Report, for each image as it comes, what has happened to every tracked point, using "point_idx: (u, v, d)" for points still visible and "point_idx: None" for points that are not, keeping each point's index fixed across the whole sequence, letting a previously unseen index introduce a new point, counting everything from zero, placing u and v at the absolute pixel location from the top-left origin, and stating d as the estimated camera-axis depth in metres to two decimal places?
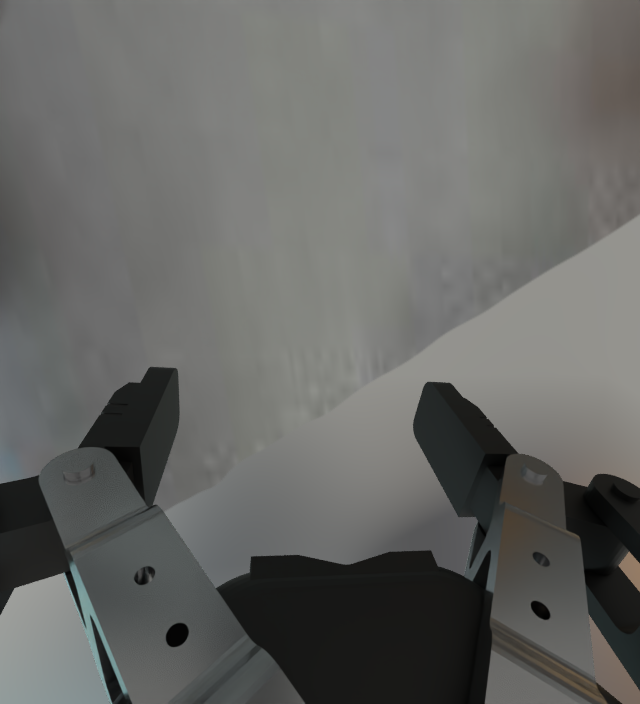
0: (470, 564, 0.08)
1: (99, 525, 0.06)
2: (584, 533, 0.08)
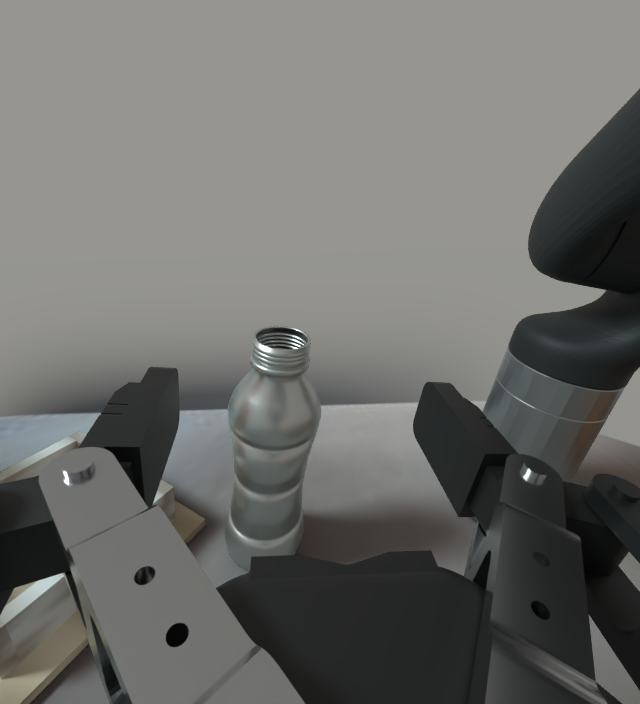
0: (470, 564, 0.08)
1: (99, 525, 0.06)
2: (584, 533, 0.08)
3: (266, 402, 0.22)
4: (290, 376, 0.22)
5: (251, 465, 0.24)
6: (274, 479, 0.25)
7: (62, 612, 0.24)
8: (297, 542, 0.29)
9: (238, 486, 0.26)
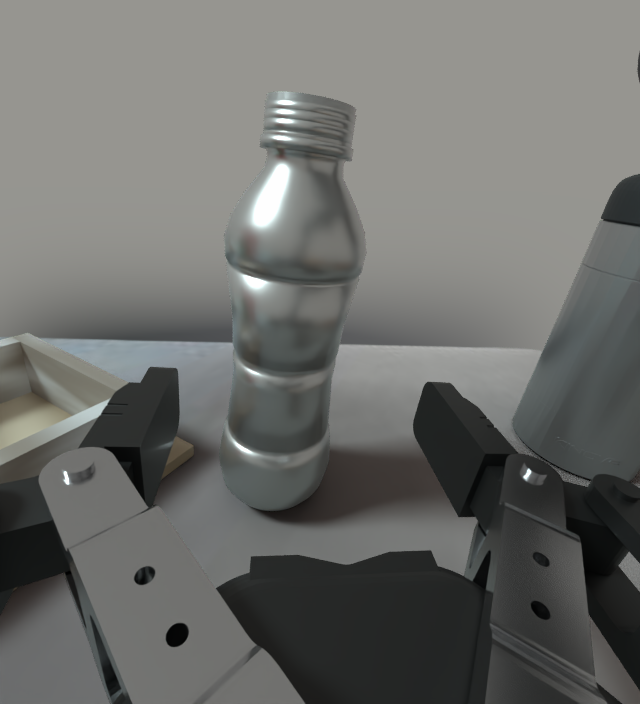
0: (470, 564, 0.08)
1: (99, 525, 0.06)
2: (584, 533, 0.08)
3: (286, 196, 0.14)
4: (326, 152, 0.14)
5: (260, 318, 0.15)
6: (295, 345, 0.16)
7: None
8: (323, 466, 0.21)
9: (239, 368, 0.18)
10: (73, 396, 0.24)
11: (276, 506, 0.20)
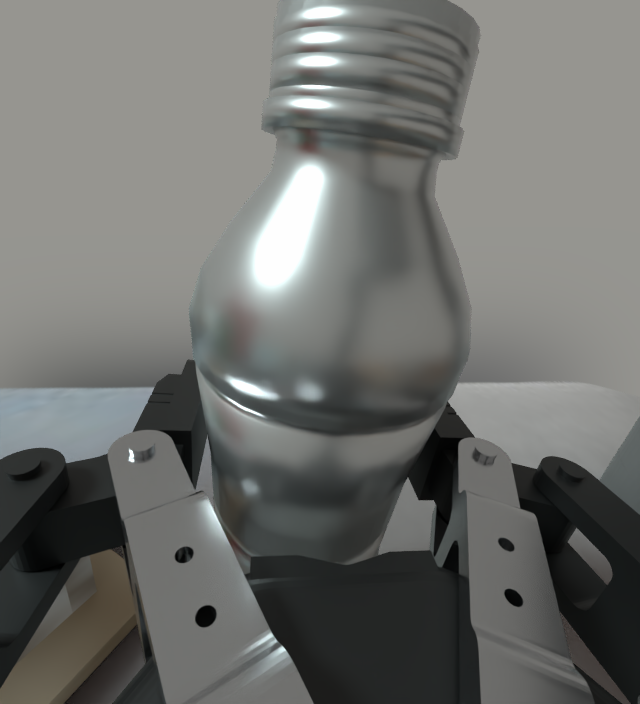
0: (434, 552, 0.08)
1: (152, 502, 0.06)
2: (531, 512, 0.08)
3: (323, 242, 0.06)
4: (421, 138, 0.06)
5: (262, 483, 0.07)
6: (331, 528, 0.08)
7: None
8: None
9: None
10: None
11: None
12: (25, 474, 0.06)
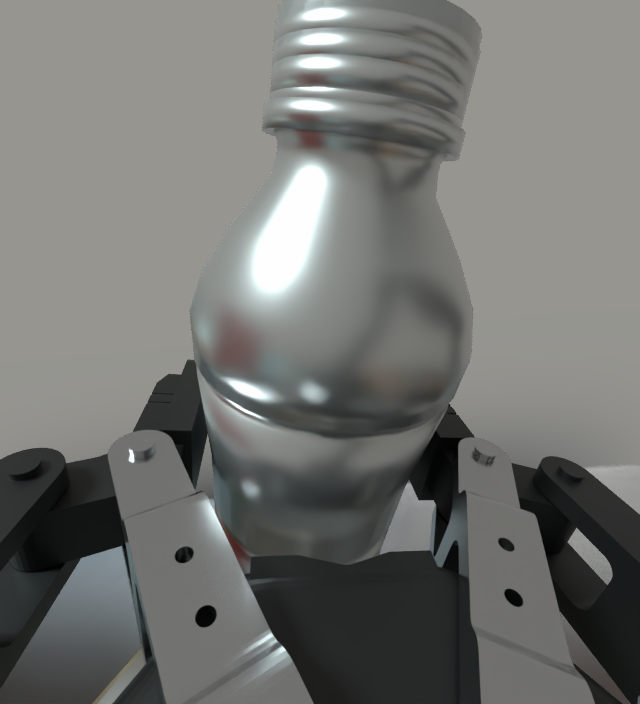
0: (434, 552, 0.08)
1: (152, 502, 0.06)
2: (530, 512, 0.08)
3: (325, 244, 0.06)
4: (423, 140, 0.06)
5: (263, 486, 0.07)
6: (333, 530, 0.08)
7: None
8: None
9: None
10: None
11: None
12: (25, 474, 0.06)
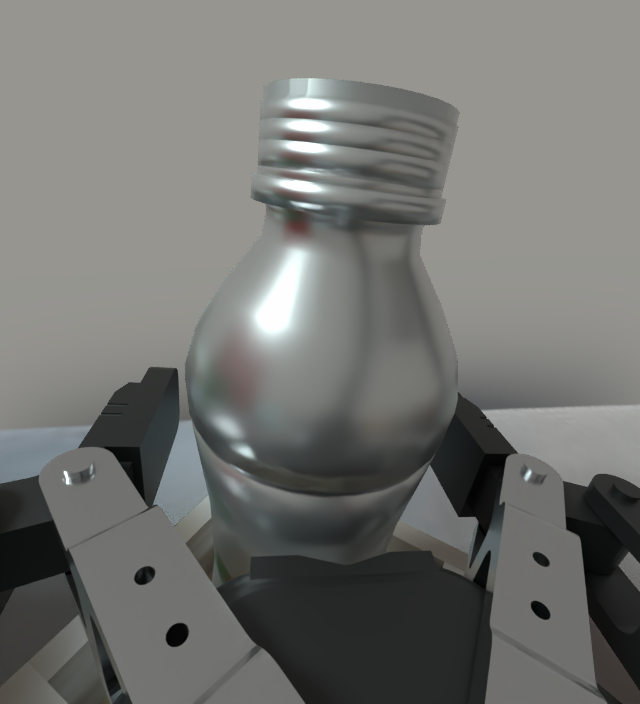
0: (470, 564, 0.08)
1: (99, 525, 0.06)
2: (584, 533, 0.08)
3: (310, 317, 0.06)
4: (402, 218, 0.06)
5: (257, 535, 0.08)
6: None
7: None
8: None
9: (222, 576, 0.10)
10: None
11: None
12: None
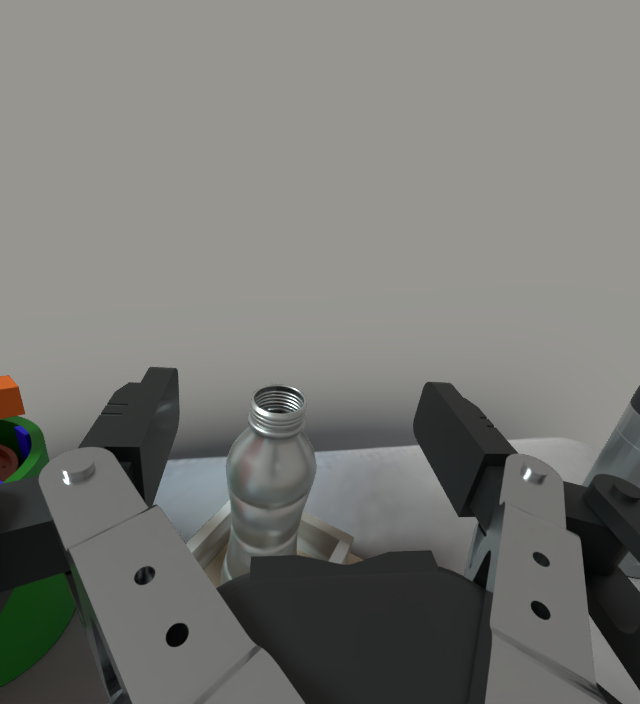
0: (470, 564, 0.08)
1: (99, 525, 0.06)
2: (584, 533, 0.08)
3: (263, 462, 0.23)
4: (287, 438, 0.23)
5: (248, 521, 0.25)
6: (270, 535, 0.25)
7: None
8: None
9: (235, 538, 0.27)
10: None
11: None
12: None
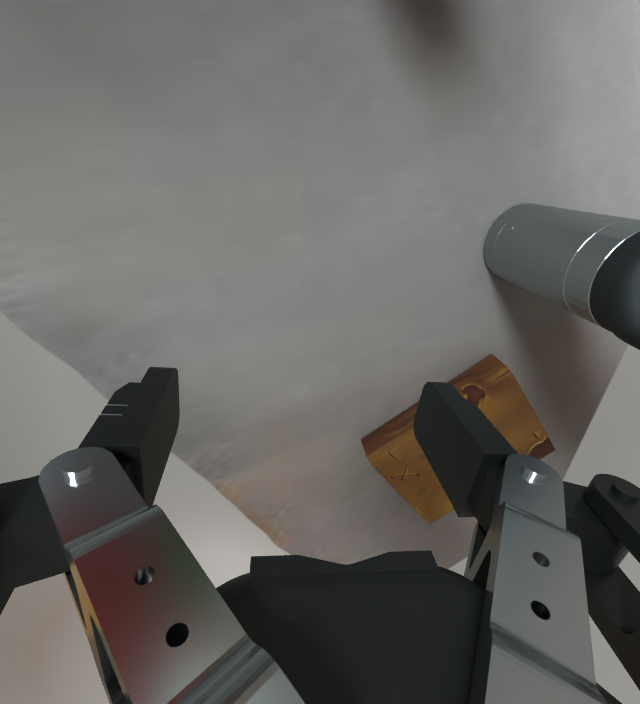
0: (470, 564, 0.08)
1: (99, 525, 0.06)
2: (584, 533, 0.08)
3: None
4: None
5: None
6: None
7: None
8: None
9: None
10: None
11: None
12: None
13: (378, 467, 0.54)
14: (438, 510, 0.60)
